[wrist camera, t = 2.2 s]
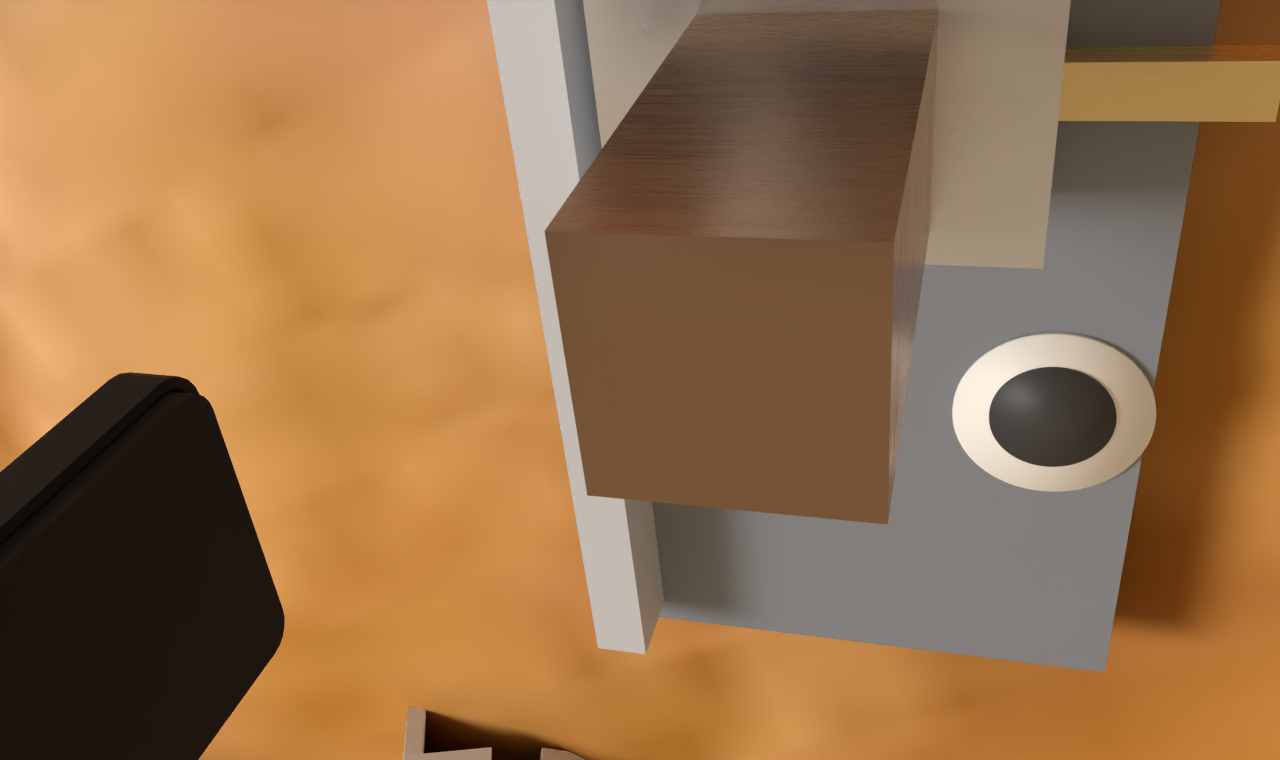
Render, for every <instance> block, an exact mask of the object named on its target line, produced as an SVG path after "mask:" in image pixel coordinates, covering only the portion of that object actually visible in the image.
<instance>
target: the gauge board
mask: <svg viewBox="0 0 1280 760" xmlns="http://www.w3.org/2000/svg"><path fill="white" fill-rule="evenodd" d="M487 4H488V10H489V16H490V22H491V27H492V33H493V39H494V45H495V51H496V56H497V62H498V68H499V74H500V80H501V86H502V91H503V97H504V103H505V109H506V115H507V120H508V126H509V132H510V138H511V144H512V149H513V155H514V161H515V167H516V173H517V179H518V184H519V190H520V196H521V202H522V208H523V213H524V219H525V225H526V231H527V237H528V243H529V248H530V254H531V260H532V266H533V272H534V277H535V283H536V289H537V295H538V301H539V306H540V312H541V318H542V324H543V330H544V336H545V341H546V347H547V353H548V359H549V365H550V370H551V376H552V382H553V388H554V394H555V400H556V405H557V411H558V417H559V423H560V429H561V434H562V440H563V446H564V452H565V458H566V464H567V469H568V475H569V481H570V487H571V493H572V498H573V504H574V510H575V516H576V522H577V527H578V533H579V539H580V545H581V551H582V557H583V562H584V568H585V574H586V580H587V586H588V591H589V597H590V603H591V609H592V615H593V621H594V626H595V632H596V638H597V644H598V648H603V649H611V650H618V651H626V652H633V653H641V654H646V652H647V649H648V647H649V644H650V641H651V638H652V635H653V632H654V629H655V626H656V623H657V620H658V617H663V618H671V619H679V620H687V621H695V622H703V623H711V624H719V625H728V626H736V627H744V628H752V629H760V630H768V631H776V632H784V633H792V634H800V635H808V636H816V637H824V638H832V639H840V640H849V641H857V642H865V643H873V644H881V645H889V646H897V647H905V648H913V649H921V650H929V651H937V652H945V653H953V654H962V655H970V656H978V657H986V658H994V659H1002V660H1010V661H1018V662H1026V663H1034V664H1042V665H1050V666H1058V667H1066V668H1074V669H1083V670H1091V671H1099V672H1105V667H1106V661H1107V656H1108V650H1109V644H1110V638H1111V633H1112V627H1113V621H1114V615H1115V609H1116V604H1117V598H1118V592H1119V586H1120V581H1121V575H1122V569H1123V563H1124V558H1125V552H1126V546H1127V540H1128V535H1129V529H1130V523H1131V517H1132V512H1133V506H1134V500H1135V494H1136V489H1137V483H1138V477H1139V471H1140V466H1141V460H1142V454H1143V451H1144V450H1145V448H1146V447H1147V445H1148V444H1149V442H1150V439H1151V437H1152V435H1153V432H1154V428H1155V424H1156V403H1155V398H1154V394H1153V391H1154V385H1155V379H1156V373H1157V368H1158V362H1159V356H1160V350H1161V345H1162V339H1163V333H1164V327H1165V322H1166V316H1167V310H1168V304H1169V299H1170V293H1171V287H1172V281H1173V276H1174V270H1175V264H1176V258H1177V252H1178V247H1179V241H1180V235H1181V229H1182V224H1183V218H1184V212H1185V206H1186V201H1187V195H1188V189H1189V183H1190V178H1191V172H1192V166H1193V160H1194V155H1195V149H1196V143H1197V137H1198V132H1199V126H1200V122H1193V121H1058V129H1057V138H1056V148H1055V158H1054V168H1053V177H1052V187H1051V197H1050V207H1049V216H1048V226H1047V236H1046V246H1045V255H1044V265H1043V269H1033V268H1006V267H979V266H953V265H926V264H925V266H924V273H923V280H922V287H921V294H920V301H919V308H918V315H917V322H916V329H915V336H914V343H913V350H912V357H911V364H910V371H909V378H908V385H907V392H906V399H905V406H904V413H903V421H902V428H901V435H900V442H899V449H898V456H897V463H896V470H895V477H894V484H893V491H892V498H891V505H890V512H889V519H888V525H887V524H877V523H867V522H856V521H846V520H836V519H825V518H815V517H805V516H794V515H784V514H773V513H763V512H753V511H742V510H732V509H722V508H711V507H701V506H691V505H680V504H670V503H660V502H649V501H639V500H629V499H618V498H608V497H598V496H587V490H586V484H585V478H584V472H583V466H582V460H581V454H580V447H579V441H578V435H577V429H576V423H575V417H574V411H573V404H572V398H571V392H570V386H569V380H568V374H567V367H566V361H565V355H564V349H563V343H562V337H561V331H560V324H559V318H558V312H557V306H556V300H555V294H554V287H553V281H552V275H551V269H550V263H549V257H548V251H547V244H546V238H545V232H544V231H545V229H546V228H547V227H548V225H549V224H550V222H551V221H552V219H553V218H554V217H555V215H556V214H557V212H558V211H559V209H560V208H561V207H562V205H563V204H564V202H565V201H566V199H567V198H568V197H569V195H570V194H571V192H572V191H573V189H574V188H575V187H576V185H577V184H578V182H579V181H580V179H581V178H582V177H583V175H584V174H585V172H586V171H587V169H588V168H589V167H590V165H591V164H592V162H593V161H594V159H595V158H596V157H597V155H598V154H599V152H600V151H601V149H602V148H601V140H600V132H599V124H598V116H597V108H596V100H595V92H594V84H593V77H592V69H591V61H590V53H589V45H588V37H587V29H586V21H585V13H584V6H583V0H487ZM1220 5H1221V0H1071V2H1070V12H1069V22H1068V31H1067V41H1066V47H1112V46H1205V45H1214V39H1215V34H1216V28H1217V22H1218V16H1219V11H1220Z"/></svg>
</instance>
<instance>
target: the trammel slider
mask: <svg viewBox="0 0 1280 760" xmlns="http://www.w3.org/2000/svg"><path fill="white" fill-rule="evenodd" d="M1070 2H1071V0H583V6H584V13H585V21H586V29H587V37H588V45H589V53H590V61H591V69H592V77H593V84H594V92H595V100H596V108H597V116H598V124H599V132H600V140H601V148H602V149H601V151H600V152H599V154H598V155H597V157H596V158H595V159H594V161H593V162H592V164H591V165H590V167H589V168H588V169H587V171H586V172H585V174H584V175H583V177H582V178H581V179H580V181H579V182H578V184H577V185H576V187H575V188H574V189H573V191H572V192H571V194H570V195H569V197H568V198H567V199H566V201H565V202H564V204H563V205H562V207H561V208H560V209H559V211H558V212H557V214H556V215H555V217H554V218H553V219H552V221H551V222H550V224H549V225H548V227H547V228H546V229H545V231H544V232H545V238H546V244H547V251H548V257H549V263H550V269H551V275H552V281H553V287H554V294H555V300H556V306H557V312H558V318H559V324H560V331H561V337H562V343H563V349H564V355H565V361H566V367H567V374H568V380H569V386H570V392H571V398H572V404H573V411H574V417H575V423H576V429H577V435H578V441H579V447H580V454H581V460H582V466H583V472H584V478H585V484H586V490H587V496H598V497H608V498H618V499H629V500H639V501H649V502H660V503H670V504H680V505H691V506H701V507H711V508H722V509H732V510H742V511H753V512H763V513H773V514H784V515H794V516H805V517H815V518H825V519H836V520H846V521H856V522H867V523H877V524H887V525H888V519H889V512H890V505H891V498H892V491H893V484H894V477H895V470H896V463H897V456H898V449H899V442H900V435H901V428H902V421H903V413H904V406H905V399H906V392H907V385H908V378H909V371H910V364H911V357H912V350H913V343H914V336H915V329H916V322H917V315H918V308H919V301H920V294H921V287H922V280H923V273H924V266H925V264H926V265H953V266H979V267H1006V268H1033V269H1043V265H1044V255H1045V246H1046V236H1047V226H1048V216H1049V207H1050V197H1051V187H1052V177H1053V168H1054V158H1055V148H1056V138H1057V129H1058V121H1193V122H1276V117H1277V112H1278V108H1279V103H1280V45H1205V46H1112V47H1066V41H1067V31H1068V22H1069V12H1070Z"/></svg>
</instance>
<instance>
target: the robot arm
mask: <svg viewBox="0 0 1280 760" xmlns="http://www.w3.org/2000/svg"><path fill="white" fill-rule="evenodd" d="M283 631H284V613H283V608H282V606H281V603H280V600H279V597H278V594H277V591H276V588H275V586H274V583H273V580H272V577H271V574H270V571H269V568H268V565H267V563H266V560H265V557H264V554H263V551H262V548H261V545H260V542H259V540H258V537H257V534H256V531H255V528H254V525H253V522H252V519H251V517H250V514H249V511H248V508H247V505H246V502H245V499H244V497H243V494H242V491H241V488H240V485H239V482H238V479H237V476H236V474H235V471H234V468H233V465H232V462H231V459H230V456H229V453H228V451H227V448H226V445H225V442H224V439H223V436H222V433H221V431H220V428H219V425H218V422H217V419H216V416H215V413H214V410H213V408H212V406H211V404H210V402H209V401H208V400H207V399H206V398H205V397H204V396H201V395H199V393H198V391H197V389H196V387H195V386H194V385H193V384H192V383H191V382H190V381H189V380H187V379H184V378H181V377H177V376H165V375H153V374H142V373H122V374H118V375H117V376H115V377H113V378H112V379H110V380H109V381H107V382H106V383H105V384H104V385H103V386H102V387H100V388H99V389H98V390H97V391H96V392H94V393H93V394H92V395H91V396H90V397H89V398H87V399H86V400H85V401H84V402H83V403H81V404H80V405H79V406H78V407H77V408H76V409H74V410H73V411H72V412H71V413H70V414H69V415H67V416H66V417H65V418H64V419H63V420H61V421H60V422H59V423H58V424H57V425H56V426H54V427H53V428H52V429H51V430H50V431H48V432H47V433H46V434H45V435H44V436H43V437H41V438H40V439H39V440H38V441H37V442H35V443H34V444H33V445H32V446H31V447H30V448H28V449H27V450H26V451H25V452H24V453H23V454H21V455H20V456H19V457H18V458H17V459H15V460H14V461H13V462H12V463H11V464H10V465H8V466H7V467H6V468H5V469H4V470H2V471H1V472H0V760H198V759H199V758H200V756H201V755H202V754H203V752H204V751H205V750H206V748H207V747H208V745H209V744H210V743H211V741H212V740H213V738H214V737H215V736H216V734H217V733H218V732H219V730H220V729H221V727H222V726H223V725H224V723H225V722H226V720H227V719H228V718H229V716H230V715H231V714H232V712H233V711H234V709H235V708H236V707H237V705H238V704H239V702H240V701H241V700H242V698H243V697H244V695H245V694H246V693H247V691H248V690H249V689H250V687H251V686H252V684H253V683H254V682H255V680H256V679H257V677H258V676H259V675H260V673H261V672H262V671H263V669H264V668H265V666H266V665H267V664H268V662H269V661H270V659H271V658H272V657H273V655H274V654H275V652H276V651H277V649H278V647H279V645H280V642H281V639H282V637H283Z"/></svg>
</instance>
